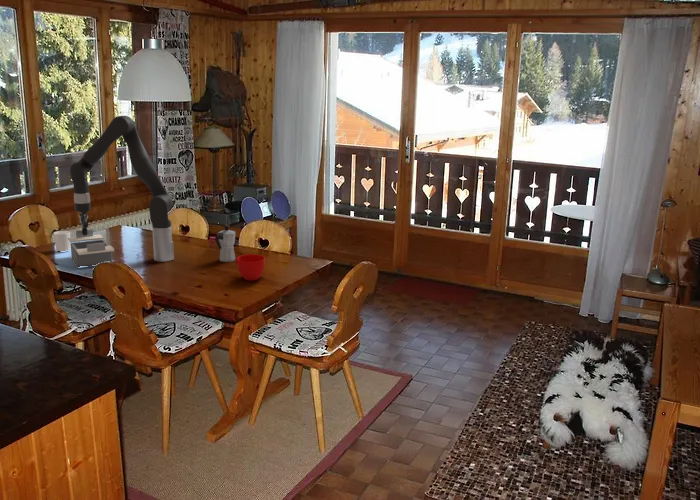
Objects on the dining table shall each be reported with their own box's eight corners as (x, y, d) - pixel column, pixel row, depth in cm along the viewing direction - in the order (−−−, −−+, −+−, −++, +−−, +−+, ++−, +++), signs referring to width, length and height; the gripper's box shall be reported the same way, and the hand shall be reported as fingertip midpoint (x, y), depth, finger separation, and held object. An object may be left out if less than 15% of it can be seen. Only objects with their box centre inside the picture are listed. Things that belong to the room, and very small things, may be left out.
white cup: (60, 253, 343) (58, 235, 341) (52, 251, 348) (50, 232, 345) (74, 250, 349) (73, 232, 347) (66, 248, 354) (64, 229, 351)
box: (105, 256, 341) (103, 239, 338) (111, 264, 328) (110, 246, 325) (71, 260, 333) (70, 242, 330) (77, 268, 320) (75, 250, 317)
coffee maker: (229, 255, 349) (228, 222, 344) (242, 258, 344) (241, 224, 339) (209, 262, 336) (208, 227, 331) (222, 264, 332) (221, 230, 327)
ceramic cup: (246, 270, 323) (246, 251, 321) (270, 278, 313) (270, 258, 310) (226, 276, 314) (225, 256, 311) (250, 284, 303) (250, 263, 301)
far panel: (100, 235, 345) (99, 227, 344) (103, 239, 339) (103, 231, 338) (67, 238, 337) (66, 230, 336) (70, 242, 331) (69, 234, 330)
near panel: (110, 247, 325) (110, 238, 323) (114, 251, 318) (113, 242, 317) (76, 250, 316) (75, 242, 315) (79, 254, 310) (78, 246, 309)
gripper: (92, 203, 329) (95, 237, 334) (87, 198, 340) (90, 231, 345) (76, 204, 325) (79, 238, 330) (72, 199, 336) (74, 232, 341)
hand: (84, 234), depth 337 cm, fingers closed
